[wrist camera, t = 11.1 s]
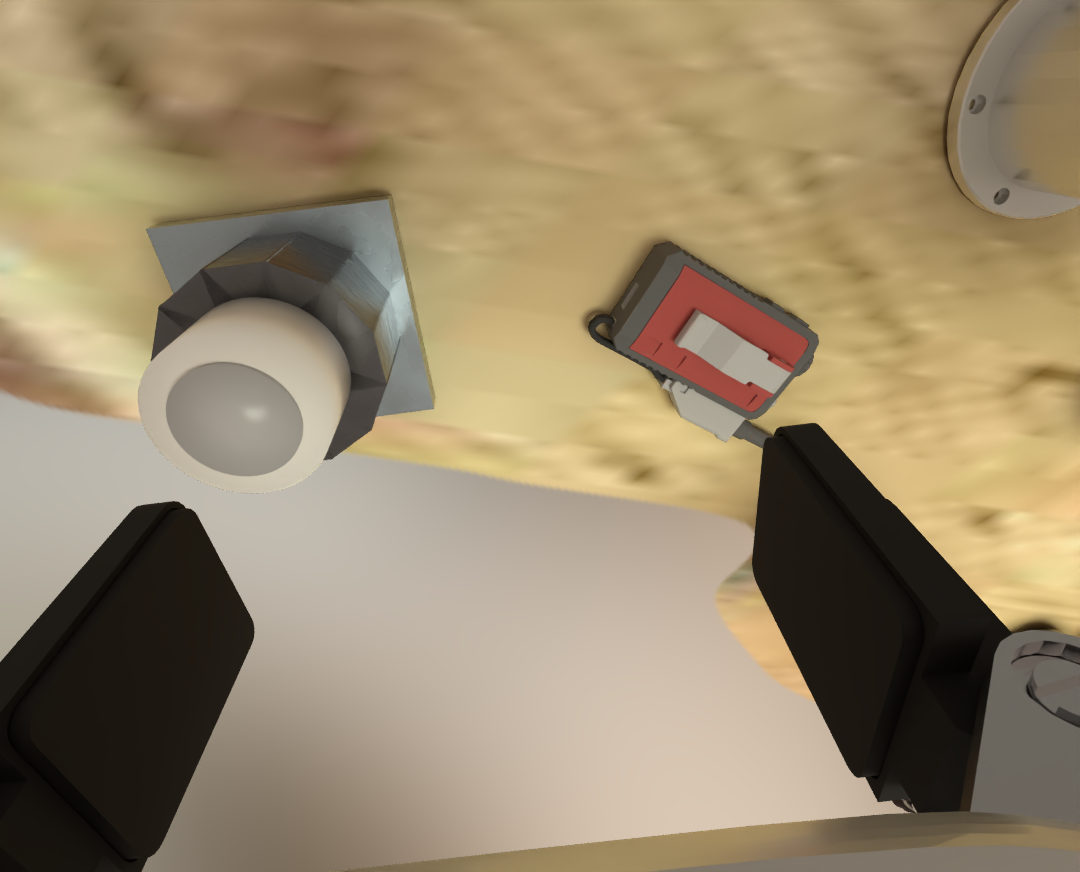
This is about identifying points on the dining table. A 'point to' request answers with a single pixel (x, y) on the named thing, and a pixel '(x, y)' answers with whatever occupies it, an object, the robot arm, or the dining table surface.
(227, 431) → the cup
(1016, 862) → the robot arm
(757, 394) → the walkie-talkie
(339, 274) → the gray square-based holder
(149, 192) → the dining table surface
